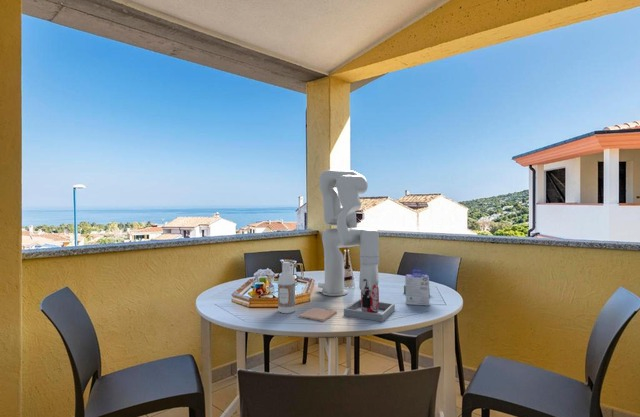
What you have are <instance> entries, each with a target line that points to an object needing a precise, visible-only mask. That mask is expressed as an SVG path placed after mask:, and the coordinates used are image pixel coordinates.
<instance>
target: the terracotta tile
mask: <svg viewBox="0 0 640 417" xmlns="http://www.w3.org/2000/svg"><path fill="white" fill-rule="evenodd" d="M336 314H338V312H337V310H331V309H324V308H317V307H311V308H310V309H307V310H305V311H303V312H302V313H300V314H298V318H300V317H305V318H304V319H306V318H310V319H309V320H311V319H316V320H315V321H317V320H321V321H320V322H323V321H324V322H326V321H328V320H329V319H330V318H333V316H336ZM328 318H329V319H328ZM325 320H326V321H325Z"/></svg>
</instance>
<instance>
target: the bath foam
mask: <svg viewBox="0 0 640 417" xmlns="http://www.w3.org/2000/svg"><path fill="white" fill-rule="evenodd" d="M277 289H278V290H277V300H278V301H277V306H278V308H277V309H278V310H277V311H278V312H279V313H280V312H281V314H291V313H292V314H293V313H295V311H296V280H295V277H294V275H293V273H292V272H291V262H290V261H283V262H282V272H281V273H280V275H279V277H278V280H277Z"/></svg>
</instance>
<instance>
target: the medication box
mask: <svg viewBox="0 0 640 417" xmlns="http://www.w3.org/2000/svg"><path fill="white" fill-rule="evenodd" d="M430 293H431V288H430V287H429V297H430V296H431V294H430ZM403 294H406V284H404V286H403Z"/></svg>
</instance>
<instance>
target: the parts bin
mask: <svg viewBox="0 0 640 417" xmlns="http://www.w3.org/2000/svg"><path fill="white" fill-rule="evenodd" d="M359 307H361V298H360V299H357V300H356V301H354V302H353V303H351V304H350V305H348V306H347V307H345V308H344V309H343V316H345V317H351V318H357V319H365V320H370V321H371V320H372V321H377V322H381V323H382V322H385V320H386V319H387V318H388V317H389V316H390V315H392V313H393V312H395V310H396V308H395V307H396V305H395V303H392V302H382V301H379V310H384V311H383V312H381V313H379V312H377V313H372V312H365V311H362V310H357V309H358V308H359Z"/></svg>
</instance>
